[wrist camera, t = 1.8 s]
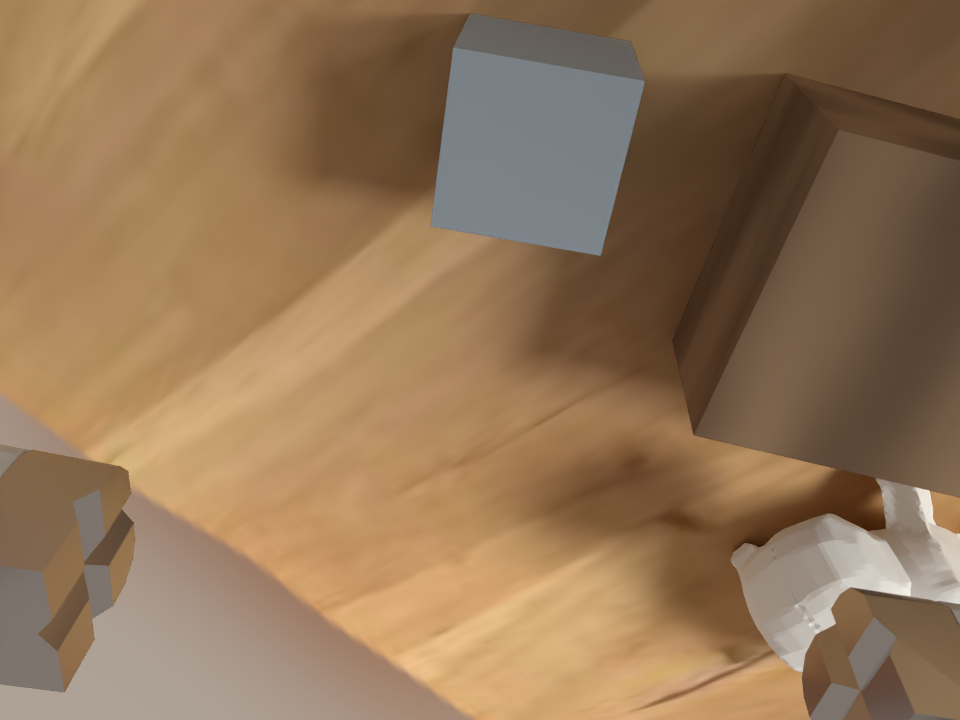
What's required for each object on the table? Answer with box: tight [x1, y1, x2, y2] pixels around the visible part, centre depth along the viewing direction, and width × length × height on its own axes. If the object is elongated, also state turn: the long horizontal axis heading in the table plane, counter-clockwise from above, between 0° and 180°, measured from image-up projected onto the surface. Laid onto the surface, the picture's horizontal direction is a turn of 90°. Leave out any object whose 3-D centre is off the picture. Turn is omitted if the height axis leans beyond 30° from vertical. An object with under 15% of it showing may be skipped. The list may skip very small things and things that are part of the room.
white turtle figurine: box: [731, 478, 960, 672], centre depth 32 cm, size 8×8×15 cm
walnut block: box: [673, 74, 960, 498], centre depth 26 cm, size 10×10×6 cm
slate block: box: [431, 13, 645, 256], centre depth 24 cm, size 5×5×5 cm
